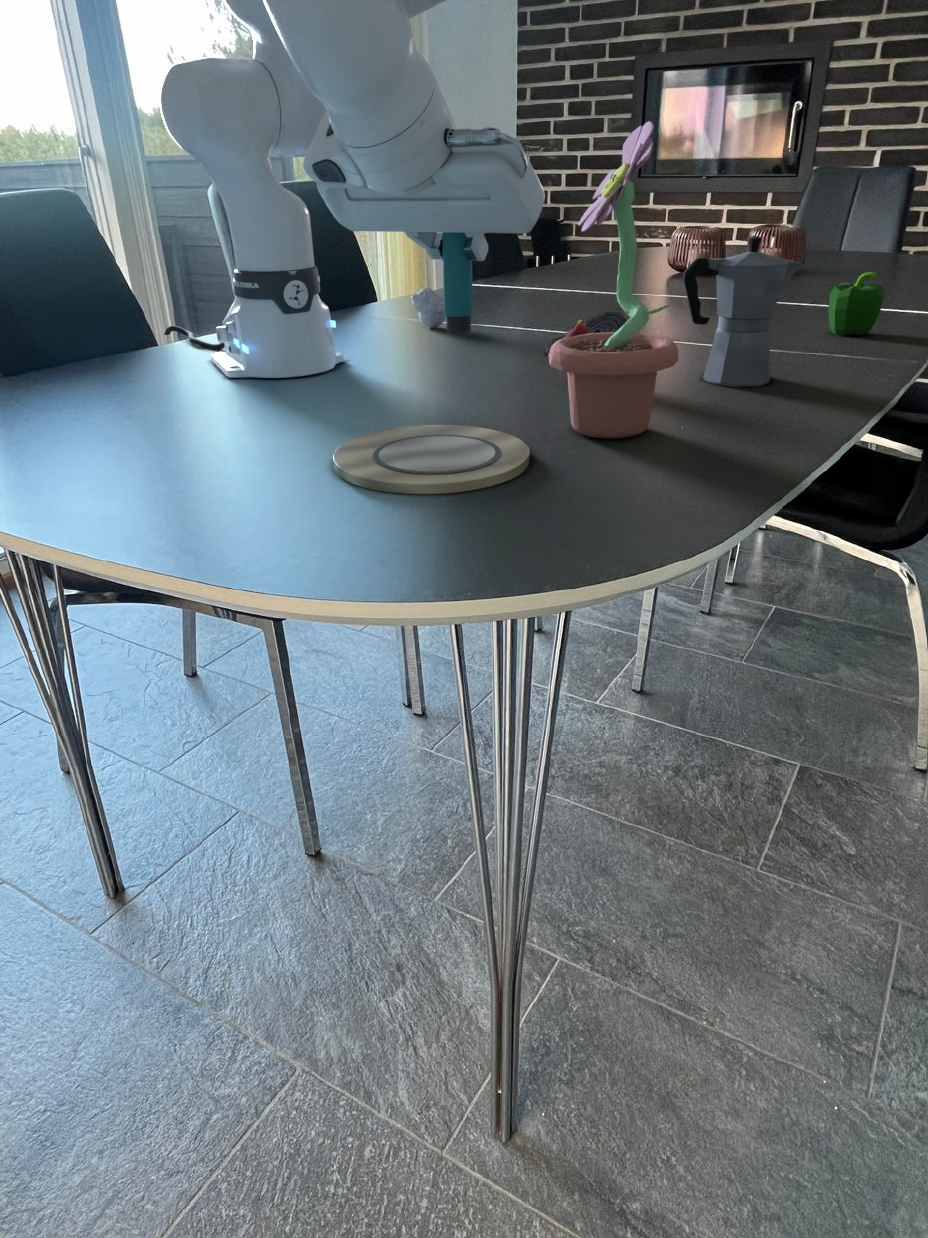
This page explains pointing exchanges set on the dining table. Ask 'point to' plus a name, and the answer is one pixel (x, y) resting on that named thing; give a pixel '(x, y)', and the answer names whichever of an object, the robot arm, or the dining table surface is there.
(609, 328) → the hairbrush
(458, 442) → the round wooden trivet
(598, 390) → the decorative flower
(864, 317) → the bell pepper
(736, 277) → the coffeepot
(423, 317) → the crumpled paper ball
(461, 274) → the marker
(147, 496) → the dining table surface
